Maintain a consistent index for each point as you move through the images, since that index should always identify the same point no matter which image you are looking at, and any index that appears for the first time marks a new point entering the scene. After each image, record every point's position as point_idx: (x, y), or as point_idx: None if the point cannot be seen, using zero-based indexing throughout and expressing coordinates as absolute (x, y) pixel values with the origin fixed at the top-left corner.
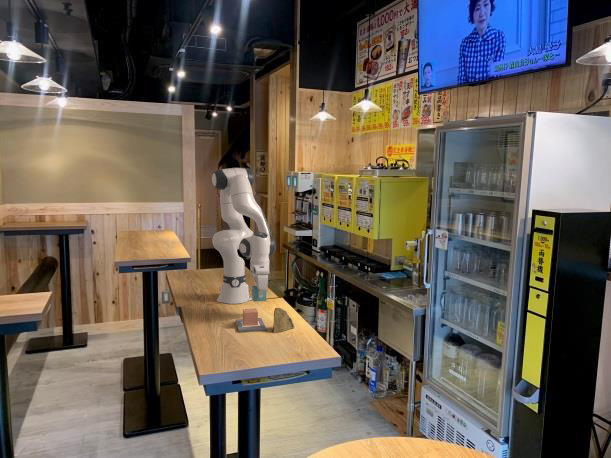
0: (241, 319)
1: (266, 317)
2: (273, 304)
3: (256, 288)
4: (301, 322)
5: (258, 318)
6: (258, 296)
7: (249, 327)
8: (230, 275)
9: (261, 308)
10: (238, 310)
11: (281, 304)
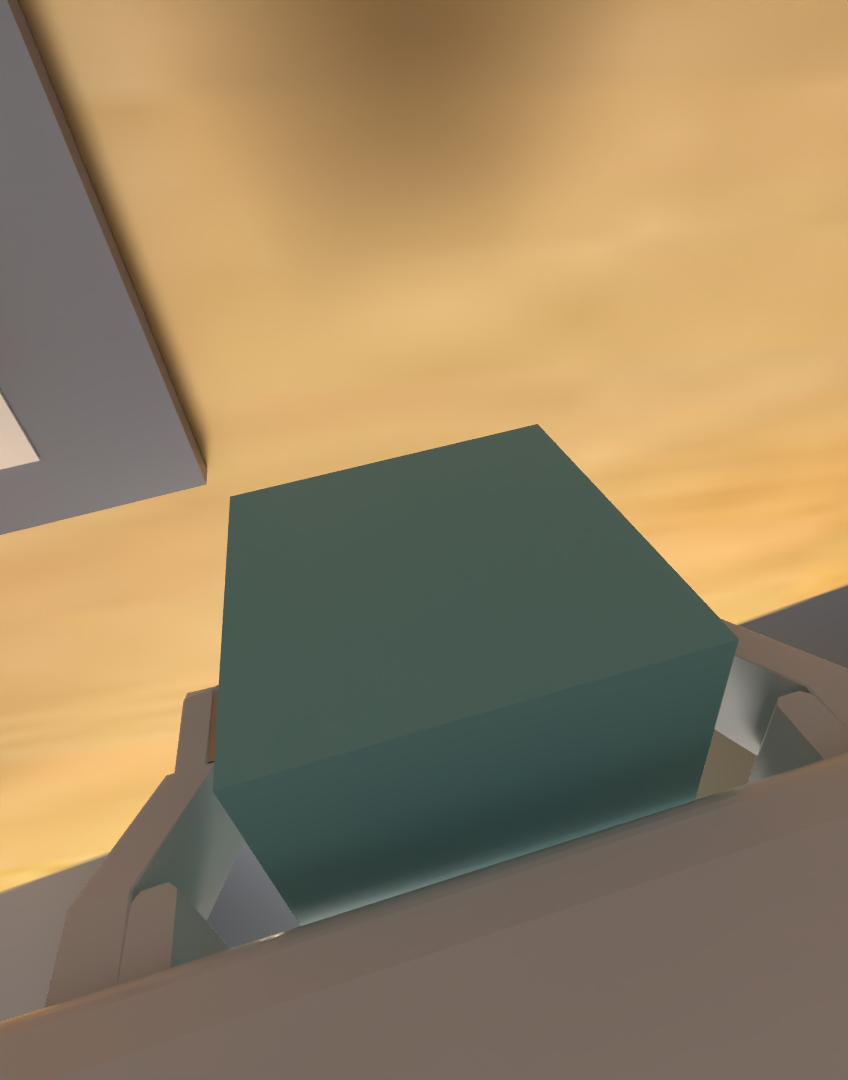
0: (24, 134)
1: None
2: (803, 527)
3: (340, 828)
4: None
5: (161, 453)
6: None
7: None
8: None
9: (712, 420)
10: (737, 45)
11: (770, 595)
